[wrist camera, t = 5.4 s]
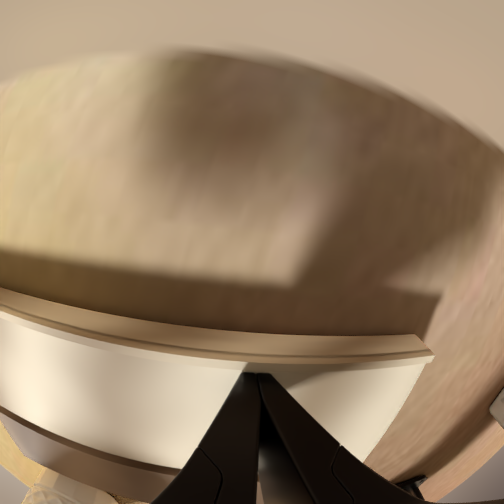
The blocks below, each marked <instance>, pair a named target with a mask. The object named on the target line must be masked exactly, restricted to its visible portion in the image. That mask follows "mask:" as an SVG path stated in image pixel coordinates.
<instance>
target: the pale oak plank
mask: <svg viewBox="0 0 504 504" xmlns="http://www.w3.org/2000/svg"><path fill="white" fill-rule="evenodd" d="M434 356H435V354H434V353H433V352H432V351H431V350H430V349H429V348H428V347H427V346H426V345H425V344H424V343H423V342H422V341H421V340H420V339H419V338H418V337H417V336H416V335H415V334H407V335H384V336H307V335H282V334H265V333H250V332H238V331H226V330H216V329H206V328H197V327H189V326H181V325H173V324H166V323H159V322H153V321H146V320H140V319H134V318H128V317H122V316H117V315H111V314H106V313H101V312H96V311H91V310H86V309H82V308H77V307H73V306H68V305H64V304H60V303H56V302H51V301H47V300H44V299H40V298H36V297H32V296H29V295H25V294H21V293H18V292H14V291H11V290H8V289H4V288H1V287H0V405H1V406H2V407H4V408H6V409H7V410H9V411H11V412H13V413H14V414H16V415H18V416H20V417H22V418H24V419H25V420H27V421H29V422H31V423H33V424H35V425H37V426H39V427H42V428H44V429H46V430H48V431H50V432H53V433H55V434H57V435H60V436H62V437H64V438H67V439H69V440H72V441H75V442H77V443H80V444H83V445H85V446H88V447H91V448H94V449H97V450H100V451H104V452H107V453H110V454H114V455H117V456H121V457H125V458H129V459H133V460H137V461H141V462H146V463H150V464H155V465H161V466H166V467H172V468H179V469H182V468H183V467H184V465H185V464H186V462H187V461H188V460H189V458H190V457H191V455H192V454H193V452H194V450H195V449H196V448H197V446H198V444H199V443H200V441H201V439H202V438H203V436H204V435H205V433H206V431H207V430H208V428H209V426H210V425H211V423H212V421H213V420H214V418H215V416H216V415H217V413H218V411H219V410H220V408H221V406H222V405H223V403H224V401H225V400H226V398H227V396H228V394H229V393H230V391H231V389H232V387H233V386H234V384H235V382H236V380H237V379H238V377H239V375H240V373H241V372H253V373H255V374H257V373H270V374H271V375H272V376H273V377H274V378H275V379H276V380H277V381H278V382H279V383H280V384H281V385H282V386H283V387H284V388H285V389H286V390H287V391H288V392H289V393H290V394H291V396H292V397H293V398H294V399H295V400H296V401H297V402H298V403H299V404H300V405H301V406H302V407H303V408H304V409H305V410H306V411H307V412H308V413H309V414H310V415H311V416H312V417H313V418H314V419H315V420H316V421H317V422H318V423H319V424H320V425H321V426H322V427H324V428H325V429H326V430H327V431H328V432H329V433H330V434H331V435H332V436H333V437H334V438H335V439H336V440H337V441H338V442H339V443H340V446H341V445H343V446H344V447H345V448H346V449H347V450H348V451H349V452H350V453H352V454H353V455H354V456H355V457H356V458H358V459H359V460H360V461H361V462H363V461H364V460H365V459H366V457H367V456H368V455H369V454H370V452H371V451H372V450H373V448H374V447H375V446H376V444H377V443H378V442H379V440H380V439H381V437H382V436H383V435H384V433H385V432H386V430H387V429H388V427H389V426H390V424H391V423H392V421H393V420H394V418H395V417H396V415H397V413H398V412H399V410H400V409H401V407H402V405H403V404H404V402H405V400H406V399H407V397H408V395H409V394H410V392H411V390H412V388H413V386H414V385H415V383H416V381H417V379H418V377H419V375H420V373H421V372H422V370H423V368H424V366H425V364H426V363H430V362H432V360H433V358H434Z"/></svg>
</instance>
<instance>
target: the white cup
mask: <svg viewBox="0 0 504 504" xmlns="http://www.w3.org/2000/svg"><path fill="white" fill-rule="evenodd" d="M21 504H119V503H118V502H117V501H116V500H115V499H114V498H113V497H112V496H111V495H109V494H108V493H106V492H105V491H103V490H100V489H97V488H94V487H91V486H88V485H86V484H83V483H81V482H78V481H76V480H73V479H71V478H68V477H66V476H64V475H61V474H59V473H57V472H55V471H53V470H51V469H49V468H47V467H45V466H44V467H43V468H42V469H41V471H40V473H39V475H38V477H37V478H36V480H35V482H34V486H32V487H31V488H30V489H29V491H28V492H27V494H26V496H25V499H24V500H23V502H22V503H21Z"/></svg>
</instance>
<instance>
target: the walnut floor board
mask: <svg viewBox="0 0 504 504" xmlns="http://www.w3.org/2000/svg"><path fill="white" fill-rule="evenodd" d="M0 420H1V422H2V424H3V425H4V427H5V428H6V430H7V432H8V433H9V435H10V436H11V438H12V439H13V441H14V442H15V444H16V445H17V446H18V448H19V449H20V451H21V452H22V453H23V455H24V456H26V457H28V458H29V459H31V460H33V461H35V462H37V463H39V464H41V465H43V466H45V467H47V468H49V469H51V470H53V471H55V472H57V473H59V474H61V475H64V476H66V477H68V478H71V479H73V480H76V481H78V482H81V483H83V484H86V485H88V486H91V487H94V488H97V489H100V490H103V491H106V492H109V493H112V494H115V495H119V496H122V497H126V498H130V499H134V500H138V501H142V502H146V503H151V502H152V501H153V500H154V499H155V498H156V497H157V496H158V495H159V494H160V493H161V492H162V491H163V490H164V489H165V488H166V487H167V486H168V485H169V484H170V482H171V481H172V480H173V479H174V478H175V477H176V476H177V474H178V473H179V472H180V471H181V469H179V468H172V467H166V466H161V465H155V464H150V463H146V462H141V461H137V460H133V459H129V458H125V457H121V456H117V455H114V454H110V453H107V452H104V451H100V450H97V449H94V448H91V447H88V446H85V445H83V444H80V443H77V442H75V441H72V440H69V439H67V438H64V437H62V436H60V435H57V434H55V433H53V432H50V431H48V430H46V429H44V428H42V427H39V426H37V425H35V424H33V423H31V422H29V421H27V420H25V419H24V418H22V417H20V416H18V415H16V414H14V413H13V412H11V411H9V410H7V409H6V408H4V407H2V406H1V405H0ZM256 504H264V502H263V497H262V491H261V486H260V481H259V475H258V481H257V498H256Z"/></svg>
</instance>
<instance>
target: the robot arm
mask: <svg viewBox="0 0 504 504" xmlns="http://www.w3.org/2000/svg"><path fill="white" fill-rule="evenodd" d="M258 475H259V481H260V486H261V491H262V497H263V502H264V504H504V499H499V500H491V501H482V502H470V503H433V502H428V501H425V500H424V498H423V496H422V494H421V492H420V490H419V488H418V487H419V486H420V485H421V484H422V483H423V482H424V481H425V480H426V479H427V477H426V475H422V476H420V477H417V478H415V479H412V480H410V481H407V482H404V483H401V484H398V485H395V484H393V483H391V482H390V481H388V480H387V479H385V478H383V477H382V476H380V475H379V474H377V473H376V472H375V471H373V470H372V469H370V468H369V467H368V466H366V465H365V464H364V463H362V462H361V461H360V460H359V459H358V458H356V457H355V456H354V455H353V454H352V453H350V452H349V451H348V450H347V449H346V448H345V447H344V446H343V445H341V446H340V443H339V442H338V441H337V440H336V439H335V438H334V437H333V436H332V435H331V434H330V433H329V432H328V431H327V430H326V429H325V428H324V427H322V426H321V425H320V424H319V423H318V422H317V421H316V420H315V419H314V418H313V417H312V416H311V415H310V414H309V413H308V412H307V411H306V410H305V409H304V408H303V407H302V406H301V405H300V404H299V403H298V402H297V401H296V400H295V399H294V398H293V397H292V396H291V394H290V393H289V392H288V391H287V390H286V389H285V388H284V387H283V386H282V385H281V384H280V383H279V382H278V381H277V380H276V379H275V378H274V377H273V376H272V375H271V374H270V373H257V374H255V373H253V372H241V373H240V375H239V377H238V379H237V380H236V382H235V384H234V386H233V387H232V389H231V391H230V393H229V394H228V396H227V398H226V400H225V401H224V403H223V405H222V406H221V408H220V410H219V411H218V413H217V415H216V416H215V418H214V420H213V421H212V423H211V425H210V426H209V428H208V430H207V431H206V433H205V435H204V436H203V438H202V439H201V441H200V443H199V444H198V446H197V448H196V449H195V450H194V452H193V454H192V455H191V457H190V458H189V460H188V461H187V462H186V464H185V465H184V467H183V468H182V469H181V471H180V472H179V473H178V474H177V476H176V477H175V478H174V479H173V480H172V481H171V482H170V484H169V485H168V486H167V487H166V488H165V489H164V490H163V491H162V492H161V493H160V494H159V495H158V496H157V497H156V498H155V499H154V500H153V501H152V502H151V503H150V504H256V498H257V481H258Z"/></svg>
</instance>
